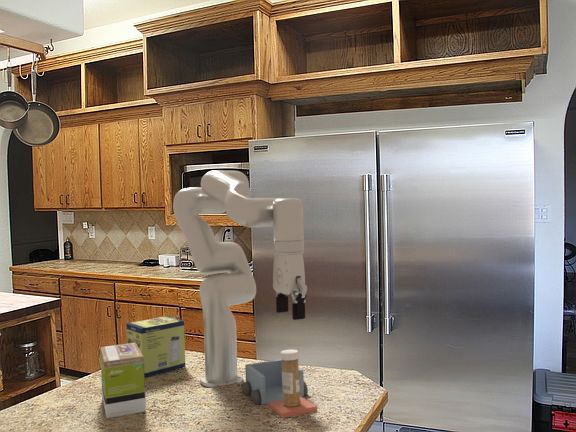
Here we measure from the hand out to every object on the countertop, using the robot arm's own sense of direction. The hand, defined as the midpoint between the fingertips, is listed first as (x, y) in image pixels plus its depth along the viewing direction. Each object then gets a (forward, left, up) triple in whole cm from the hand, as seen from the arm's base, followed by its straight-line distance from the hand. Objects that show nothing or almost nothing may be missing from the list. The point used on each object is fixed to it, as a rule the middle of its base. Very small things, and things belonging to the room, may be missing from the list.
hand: (290, 315), depth 133 cm
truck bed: (-12, 0, -24) cm, 27 cm away
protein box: (-52, -24, -25) cm, 62 cm away
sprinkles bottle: (0, 0, -23) cm, 23 cm away
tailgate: (-5, 0, -24) cm, 24 cm away
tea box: (-25, -38, -25) cm, 51 cm away
